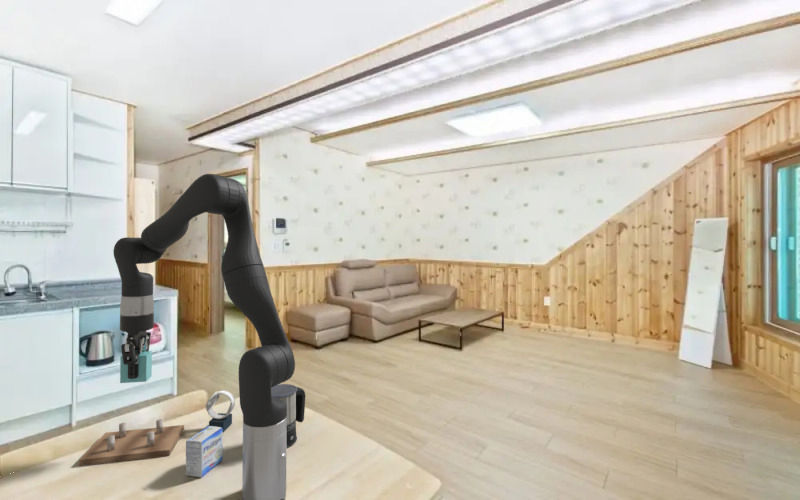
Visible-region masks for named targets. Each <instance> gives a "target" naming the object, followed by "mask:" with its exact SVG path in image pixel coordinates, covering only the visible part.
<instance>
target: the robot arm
mask: <svg viewBox="0 0 800 500" xmlns="http://www.w3.org/2000/svg"><path fill="white" fill-rule="evenodd" d="M250 210H251V209H250V204H249V199H248V195H247V191H246V189H245V187H244V186H243V184H242V182H240V181H238V180H237V179H234V178H231V177H227V176H222V175H219V174H215V173H214V174H213V173H205V174H203V175H200V176H199V177H197V179H195V180H194V181H193V182H192V183H191V184H190V185H189V187H188V188H187V189H186V190H185V191H184V192H183V193H182V195H181V196H180V197H179V198H178V199H177V200H176V201H175V202H174V204H172V206H171V207H170V208H169V209H168V210H167V211H166V212H165V213H164V214H162V215H161V216H159V218H157V219H156V220H154V221H153V222H151V223H150V224H148V225H147V226H146V227H145V228H144V229H143V230H142V232H141V234H140V237H121V238H119V239H118V240H117V241H116V243H115V244H114V247H113V250H112V251H113V257H114V261H115V263H116V267H117V269H118V274H119V276H120V280H121V297H120V304H119V331H121V332H123V333H127V335H126V338H125V343H122V344H121V345H120V348H121V356H123V363H124V365H128V378H129V379H136V378H137V377H138V363H139V356H140V355H141V354H142V352H145V351H150V345H151V344H150V343H151V335H152V333H151V331H150V332H149V330H152V329H154V327H155V322H154V321H155V320H154V319H155V318H154V317H155V302H154V301H155V300H154V276H153V275H152V274H151V273H148V272H141V271H140V270H139V268H138V266H137V265H140V264H141V265H143V264H145V265H146V264H151V263H154V262H157V261H159V260H160V259H161V258H162V257H163V255H164V253H165V252H166V251H167V249H168V248H170V247H171V246H172V245H174V244H175V243H176V242H179V240H181V239H182V238H183V237H184V236H185V235H186V233H187V232H188V229H189V227H190V226H189V225H190V221H191V220H192V219H194V218H195V217H198V216H200V215H202V214H205V213H208V214H213V215H221V216H222V217H223V219H224V223H225V225H226V231H227V243H226V247H225V249H224V252H223V256H222V259H221V260H222V261H221V265H220V267H221V269H220V270H221V274H222V275H221V276H222V279H223V282H224V286H225V290H226V294H227V296H228V298H229V300H230V301H231V303H233V304H234V306H235V307H236V308H237V309H238V310H239V311H240V312H241V313H242V314H243V315H244V316H245V318H247V319H248V321H250V323H251V324H252V325H253V327H254V329H255V331H256V334H257V336H258V340H259V341H260V346H258V347H255V348H252V349H249V350H247V351H245V352H244V353H243V354H242V356H241V357H240V360H239V364H238V389H239V391H238V393H239V405H240V409H241V413H242V481H241V482H242V483H241V484H242V487H241V491H242V500H285V499H286V497H287V495H286V494H287V452H288V451H287V449H288V448H287V443H286V439H287V405H286V403H285V401H283V400H281V399H279V398H273V397H272V393H271V387H274V386H276V385H280V384H282V383H283V384H284V383H285V382H287V381H288V380H290V379H291V378H292V377H293V375H294V373H295V370H296V361H295V356H294V355H295V354H294V352H293V349H292V347H291V344H290V343H291V342H290V340H289V339H288V337H287V334H286V331H285V329H284V326H283V325H282V321H281V320H280V319H281V318H280V317H279V314H278V310H277V307H276V304H275V301H274V298H273V295H272V292H271V289H270V284H269V280H268V276H267V272H266V269H265V266H264V263H263V261H262V257H261V254H260V251H259V247H258V243H257V239H256V235H255V231H254V230H255V229H254V227H253V222H252V216H251V211H250ZM131 358H132V359H131ZM130 359H131V360H130Z"/></svg>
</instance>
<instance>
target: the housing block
mask: <svg viewBox="0 0 800 500" xmlns="http://www.w3.org/2000/svg"><path fill="white" fill-rule="evenodd" d="M131 359H132V358H131ZM131 359H130V360H131ZM152 360H153V351H151V350H149V351H145V352H142V354H141V355H140V356H139V363H138V377H137V378H136V379H129V378H128V365H124V363H123V356H122V355H121V356H120V361H119V363H120V365H119V367H120V368H119V369H120V370H119V383H120V384H128V383H129V384H130V383H143V382H144V383H146V382H147V381H149V380H150V379H151V377H152V375H153V374H152V371H153V369H152V366H153V365H152V364H153V363H152V362H153V361H152Z"/></svg>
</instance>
